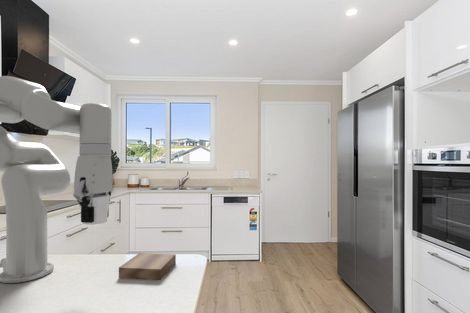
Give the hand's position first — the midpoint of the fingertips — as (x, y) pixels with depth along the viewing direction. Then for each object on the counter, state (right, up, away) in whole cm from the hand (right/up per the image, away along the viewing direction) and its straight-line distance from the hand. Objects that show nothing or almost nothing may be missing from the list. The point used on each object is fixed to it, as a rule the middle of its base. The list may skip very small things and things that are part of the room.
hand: (95, 218), depth 73 cm
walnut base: (+12, -17, +8) cm, 22 cm away
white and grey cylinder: (0, -1, 0) cm, 1 cm away
